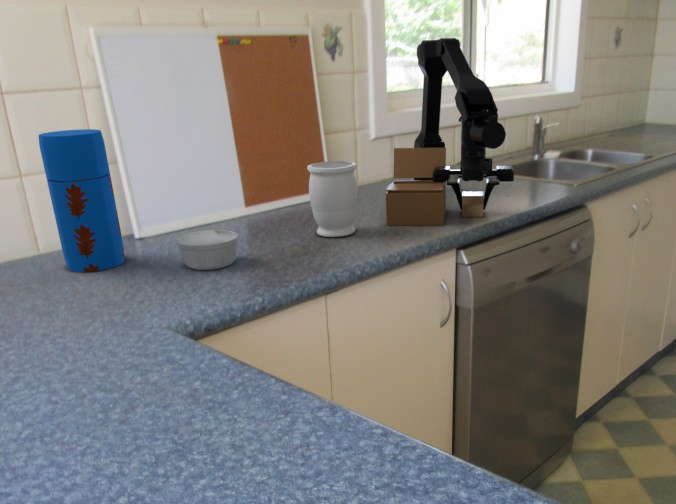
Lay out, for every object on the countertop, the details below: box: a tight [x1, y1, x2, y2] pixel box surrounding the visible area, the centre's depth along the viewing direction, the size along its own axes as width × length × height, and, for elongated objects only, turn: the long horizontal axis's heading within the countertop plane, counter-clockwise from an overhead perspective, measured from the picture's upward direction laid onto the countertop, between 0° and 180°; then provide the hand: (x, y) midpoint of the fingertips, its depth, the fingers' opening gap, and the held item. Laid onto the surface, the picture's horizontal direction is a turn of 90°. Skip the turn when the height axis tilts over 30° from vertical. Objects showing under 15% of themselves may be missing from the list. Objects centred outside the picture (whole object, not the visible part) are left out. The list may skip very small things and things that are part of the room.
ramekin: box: [176, 229, 239, 271], centre depth 127 cm, size 11×11×5 cm
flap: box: [393, 147, 447, 179], centre depth 161 cm, size 7×13×1 cm
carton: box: [385, 180, 447, 226], centre depth 156 cm, size 15×13×8 cm
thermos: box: [38, 128, 126, 273], centre depth 125 cm, size 11×11×25 cm
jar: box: [307, 160, 359, 238], centre depth 144 cm, size 11×10×15 cm
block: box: [461, 191, 485, 218], centre depth 158 cm, size 5×5×5 cm
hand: (472, 210), depth 158 cm, fingers closed on block, 5 cm apart
